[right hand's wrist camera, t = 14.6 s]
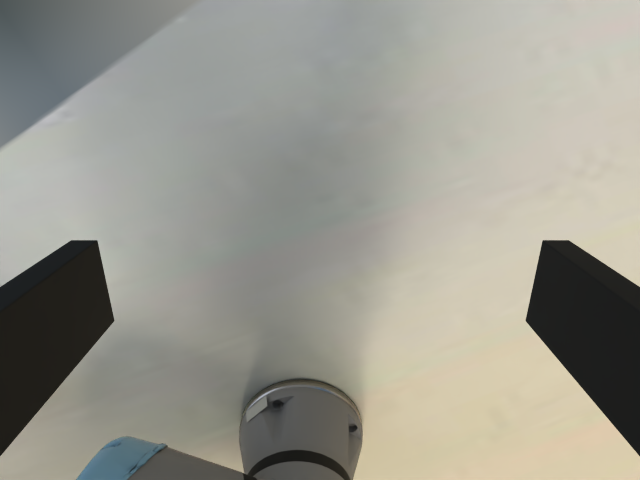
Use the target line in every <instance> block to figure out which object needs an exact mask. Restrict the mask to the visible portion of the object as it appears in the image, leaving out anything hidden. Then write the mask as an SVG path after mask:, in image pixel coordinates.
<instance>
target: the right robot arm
mask: <svg viewBox="0 0 640 480" xmlns="http://www.w3.org/2000/svg"><path fill="white" fill-rule="evenodd" d="M113 322H114V317H113V312H112V308H111V303H110V298H109V293H108V289H107V284H106V279H105V275H104V270H103V265H102V260H101V256H100V251H99V246H98V242H97V240H71V241H70V242H68V243H67V244H65V245H64V246H62V247H61V248H59V249H58V250H56V251H55V252H53V253H51V254H50V255H48V256H47V257H45V258H44V259H42V260H41V261H39V262H38V263H36V264H35V265H33V266H32V267H30V268H29V269H27V270H26V271H24V272H23V273H21V274H20V275H18V276H16V277H15V278H13V279H12V280H10V281H9V282H7V283H6V284H4V285H3V286H1V287H0V456H1V455H2V453H3V452H4V451H5V450H6V449H7V447H8V446H9V445H10V444H11V443H12V442H13V440H14V439H15V438H16V437H17V436H18V434H19V433H20V432H21V431H22V430H23V429H24V427H25V426H26V425H27V424H28V423H29V421H30V420H31V419H32V418H33V417H34V415H35V414H36V413H37V412H38V411H39V410H40V408H41V407H42V406H43V405H44V404H45V402H46V401H47V400H48V399H49V398H50V396H51V395H52V394H53V393H54V392H55V391H56V389H57V388H58V387H59V386H60V385H61V383H62V382H63V381H64V380H65V379H66V378H67V376H68V375H69V374H70V373H71V372H72V370H73V369H74V368H75V367H76V366H77V364H78V363H79V362H80V361H81V360H82V359H83V357H84V356H85V355H86V354H87V353H88V351H89V350H90V349H91V348H92V347H93V346H94V344H95V343H96V342H97V341H98V340H99V338H100V337H101V336H102V335H103V334H104V332H105V331H106V330H107V329H108V328H109V327H110V325H111V324H112V323H113ZM526 322H527V323H528V324H529V325H530V327H531V328H532V329H533V330H534V331H535V332H536V334H537V335H538V336H539V337H540V338H541V340H542V341H543V342H544V343H545V344H546V346H547V347H548V348H549V349H550V350H551V351H552V353H553V354H554V355H555V356H556V357H557V359H558V360H559V361H560V362H561V363H562V364H563V366H564V367H565V368H566V369H567V370H568V372H569V373H570V374H571V375H572V376H573V378H574V379H575V380H576V381H577V382H578V383H579V385H580V386H581V387H582V388H583V389H584V391H585V392H586V393H587V394H588V395H589V397H590V398H591V399H592V400H593V401H594V402H595V404H596V405H597V406H598V407H599V408H600V410H601V411H602V412H603V413H604V414H605V415H606V417H607V418H608V419H609V420H610V421H611V423H612V424H613V425H614V426H615V427H616V429H617V430H618V431H619V432H620V433H621V434H622V436H623V437H624V438H625V439H626V440H627V442H628V443H629V444H630V445H631V446H632V447H633V449H634V450H635V451H636V452H637V453H638V455H639V456H640V287H639V286H637V285H636V284H634V283H633V282H631V281H630V280H628V279H627V278H625V277H624V276H622V275H620V274H619V273H617V272H616V271H614V270H613V269H611V268H610V267H608V266H607V265H605V264H604V263H602V262H601V261H599V260H598V259H596V258H595V257H593V256H592V255H590V254H589V253H587V252H585V251H584V250H582V249H581V248H579V247H578V246H576V245H575V244H573V243H572V242H570V241H569V240H543V242H542V246H541V251H540V256H539V260H538V265H537V270H536V275H535V279H534V284H533V289H532V293H531V298H530V303H529V308H528V312H527V317H526ZM362 436H363V433H362V423H361V418H360V414H359V412H358V410H357V408H356V406H355V405H354V403H353V402H352V401H351V400H350V399H349V397H347V396H346V395H345V394H344V393H342V392H341V391H340V390H338V389H336V388H334V387H332V386H330V385H328V384H325V383H322V382H318V381H313V380H288V381H283V382H280V383H276V384H274V385H271V386H269V387H267V388H265V389H263V390H262V391H260V392H259V393H258V394H256V395H255V396H254V397H253V398H252V399H251V401H250V402H249V403H248V405H247V406H246V408H245V410H244V413H243V416H242V420H241V424H240V431H239V443H240V449H241V455H242V461H243V467H244V473H245V474H244V473H242V472H239V471H236V470H233V469H230V468H227V467H224V466H221V465H218V464H215V463H212V462H209V461H206V460H203V459H200V458H197V457H194V456H191V455H188V454H185V453H182V452H179V451H176V450H174V449H171V448H168V445H166V444H163V443H162V444H155V443H151V442H148V441H144V440H140V439H136V438H133V437H120V438H117V439H115V440H113V441H111V442H109V443H108V444H107V445H105V446H104V447H103V448H102V449H101V450H100V451H99V452H98V453H97V454H96V455H95V456H94V458H93V459H92V460H91V461H90V462H89V464H88V465H87V466H86V467H85V469H84V470H83V471H82V473H81V474H80V475H79V477H78V478H77V479H76V480H353V477H354V473H355V469H356V466H357V462H358V458H359V455H360V451H361V447H362Z"/></svg>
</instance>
